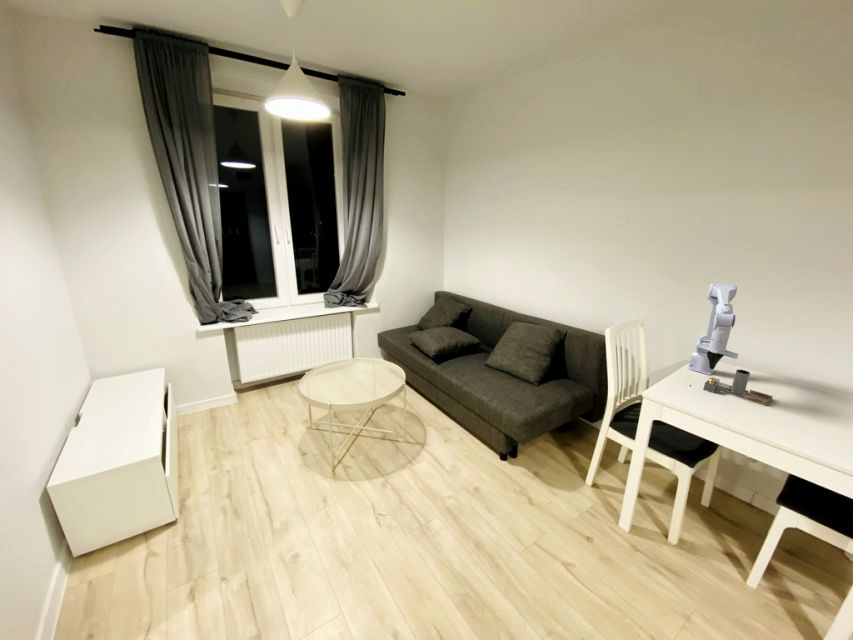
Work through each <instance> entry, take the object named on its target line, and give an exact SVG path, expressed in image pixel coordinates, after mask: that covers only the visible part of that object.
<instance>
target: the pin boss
mask: <svg viewBox="0 0 853 640" xmlns="http://www.w3.org/2000/svg"><path fill="white" fill-rule="evenodd" d="M717 386H718V383H715V384H714V385H712V384H709V380H707V381H706V382H704V386H703V391H706V392H709V393H712V394H714V393H716V391H718V390H717Z"/></svg>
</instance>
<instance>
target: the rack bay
mask: <svg viewBox="0 0 853 640" xmlns="http://www.w3.org/2000/svg"><path fill="white" fill-rule="evenodd" d="M749 394H750V395H747V394H745V395H744V398H743V399H744V400H747V401H751V402H753V403H757V404H759V405H762V406H765V407H766V406H768V405H769V404H770V402H771V401H773V398H774V396H773V395H770V394H767V393H764V392H760V391H757V390H753V389H750V390H749ZM751 395H753V396H757V397H761V398H763V399H760V398H756V397H753V396H751ZM764 399H766V400H764Z"/></svg>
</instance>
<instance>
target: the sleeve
mask: <svg viewBox="0 0 853 640" xmlns="http://www.w3.org/2000/svg"><path fill="white" fill-rule="evenodd" d="M719 382H720V381H719ZM720 383H723V384H726V383H724V382H720ZM726 385H728V384H726ZM729 385H730V388H729V389H731V388H732V385H731V384H729ZM716 391H719V392H723V393H725V394H727V395H731V396H734V397H739V398H742V399H744V398H745V395H739V394H736V393H733V392H731V390H730V391H729V390H727V391H726V390H723V389H720V388H717V390H716ZM744 393H746V394H750V390H747V389H745V392H744Z"/></svg>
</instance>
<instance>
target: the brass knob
mask: <svg viewBox="0 0 853 640" xmlns="http://www.w3.org/2000/svg"><path fill="white" fill-rule="evenodd" d="M713 378H714V377H713ZM713 378H712V377H709V378H708V380H707V381H709V384H712V385H714V384H715V382H716V381H717V380H716V379H717V378H716V379H713Z"/></svg>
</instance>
